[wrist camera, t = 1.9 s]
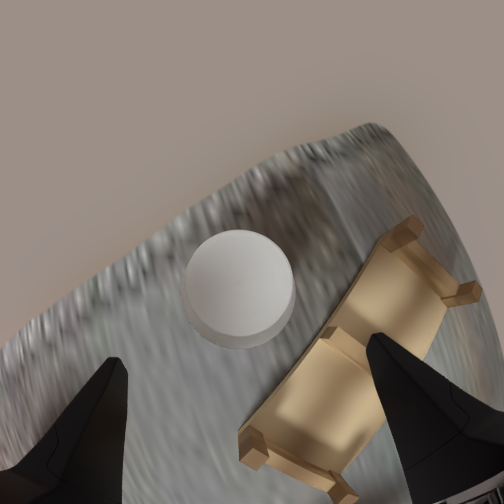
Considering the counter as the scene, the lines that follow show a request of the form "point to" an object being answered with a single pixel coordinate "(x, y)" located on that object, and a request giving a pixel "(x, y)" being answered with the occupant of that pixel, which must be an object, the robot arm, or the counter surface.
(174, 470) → the counter surface
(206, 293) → the pill bottle
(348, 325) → the rack
